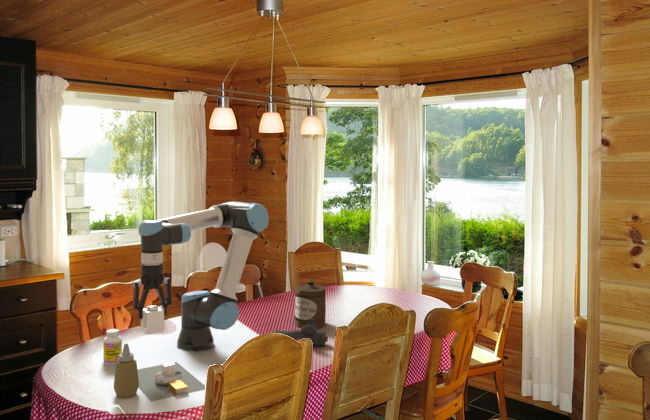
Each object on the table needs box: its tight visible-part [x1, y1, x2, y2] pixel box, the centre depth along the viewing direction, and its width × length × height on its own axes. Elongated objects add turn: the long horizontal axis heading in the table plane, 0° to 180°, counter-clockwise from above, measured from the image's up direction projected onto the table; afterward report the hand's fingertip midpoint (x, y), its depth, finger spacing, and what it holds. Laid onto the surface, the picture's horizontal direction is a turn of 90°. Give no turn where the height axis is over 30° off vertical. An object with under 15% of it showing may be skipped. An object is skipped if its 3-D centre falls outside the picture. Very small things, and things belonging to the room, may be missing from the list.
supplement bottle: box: [103, 328, 123, 366], centre depth 225 cm, size 7×7×13 cm
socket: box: [140, 304, 165, 335], centre depth 213 cm, size 6×6×9 cm
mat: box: [137, 361, 206, 402], centre depth 209 cm, size 20×30×1 cm, turn 35°
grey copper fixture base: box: [155, 361, 189, 397], centre depth 203 cm, size 18×9×6 cm, turn 35°
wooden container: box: [294, 279, 327, 330], centre depth 282 cm, size 15×15×22 cm
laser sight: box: [275, 319, 329, 347], centre depth 252 cm, size 10×22×10 cm, turn 87°
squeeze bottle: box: [113, 343, 139, 400], centre depth 195 cm, size 8×8×18 cm
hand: (152, 325), depth 213 cm, fingers closed on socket, 6 cm apart
